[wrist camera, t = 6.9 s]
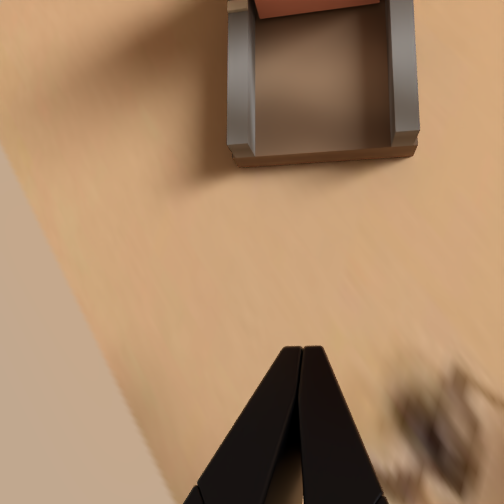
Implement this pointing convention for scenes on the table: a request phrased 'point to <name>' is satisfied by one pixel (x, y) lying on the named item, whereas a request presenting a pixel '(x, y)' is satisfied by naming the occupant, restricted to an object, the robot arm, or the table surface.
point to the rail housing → (322, 84)
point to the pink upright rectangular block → (303, 6)
